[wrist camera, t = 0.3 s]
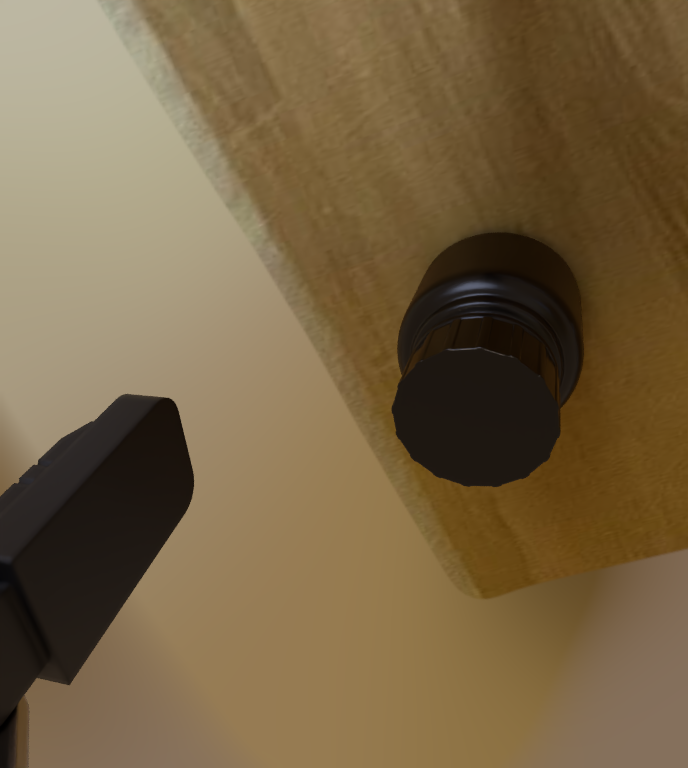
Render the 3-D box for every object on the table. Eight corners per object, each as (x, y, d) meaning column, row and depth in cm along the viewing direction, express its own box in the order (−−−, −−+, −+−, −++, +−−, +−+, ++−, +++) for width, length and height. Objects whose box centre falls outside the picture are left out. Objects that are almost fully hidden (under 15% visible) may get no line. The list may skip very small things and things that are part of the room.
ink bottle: (415, 371, 40) (367, 495, 30) (407, 231, 35) (348, 320, 26) (583, 378, 37) (591, 517, 27) (595, 226, 33) (612, 325, 23)
